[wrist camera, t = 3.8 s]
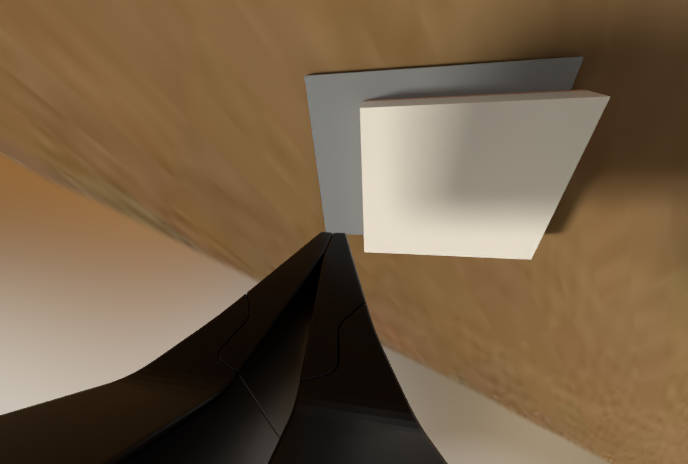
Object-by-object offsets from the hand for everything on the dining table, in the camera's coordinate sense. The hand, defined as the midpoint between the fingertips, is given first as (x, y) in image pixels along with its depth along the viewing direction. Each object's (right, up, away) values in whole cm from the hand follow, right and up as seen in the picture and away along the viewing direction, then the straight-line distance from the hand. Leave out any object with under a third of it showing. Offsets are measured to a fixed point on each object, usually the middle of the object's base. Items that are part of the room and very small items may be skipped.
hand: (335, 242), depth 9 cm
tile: (+1, +3, +3) cm, 4 cm away
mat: (+4, +4, +4) cm, 6 cm away
